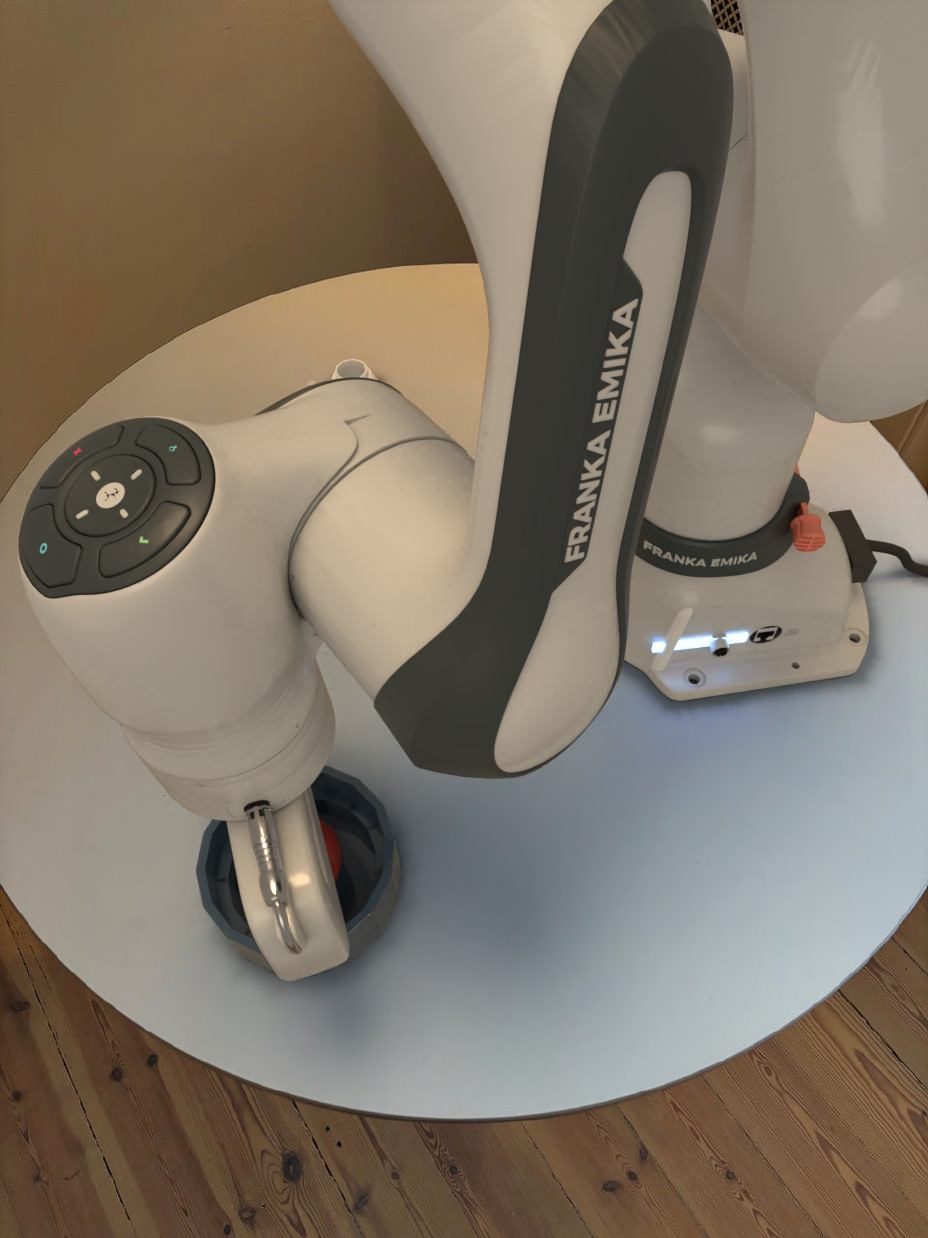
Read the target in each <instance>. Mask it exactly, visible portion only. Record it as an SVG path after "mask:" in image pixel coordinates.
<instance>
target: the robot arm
mask: <svg viewBox="0 0 928 1238" xmlns="http://www.w3.org/2000/svg"><path fill="white" fill-rule="evenodd" d="M326 1H327V2H328V4H329V6H330V8H331V9H332V11H333V13H334V14H335V16H336V17H337V18H338V20H339V21H340V22H341V24H342V25H343V27H344V29H345V30H346V31H347V33H348V34H349V36H350V37H351V39H353V40H354V43H356V45H357V46H358V47H359V49H360V50H361V51H362V52H363V55H364V56H365V57H366V58H367V60H368V61H369V63H370V64H371V65H372V67H373V68H374V69H375V71H376V72H377V73H378V75H379V76H380V77H381V79H382V81H383V82H384V83H385V85H386V86H387V88H388V90H389V91H390V92H391V93H392V95H393V96H394V98H395V100H396V101H397V102H398V105H399V106H400V108H401V109H402V110H403V112H404V114H405V115H406V116H407V118H408V120H409V121H410V123H411V124H412V126H413V129H414V130H415V131H416V133H417V135H418V137H419V139H421V141H422V143H423V145H424V146H425V148H426V150H427V151H428V153H429V154H430V157H431V160H432V161H433V163H434V164H435V166H436V168H437V170H438V172H439V173H440V175H441V177H442V179H443V181H444V183H445V185H446V187H447V189H448V191H449V193H450V195H451V197H452V198H453V201H454V203H455V205H456V208H457V210H458V212H459V214H460V217H461V219H462V221H463V224H464V225H465V229H466V231H467V234H468V237H469V239H470V242H471V244H472V247H473V251H474V253H475V257H476V260H477V264H478V267H479V271H480V276H481V279H482V285H483V291H484V295H485V302H486V308H487V309H486V310H487V323H488V325H487V326H488V344H487V345H488V346H487V356H486V363H485V364H486V365H485V372H484V373H485V374H484V383H483V389H482V399H481V408H480V414H479V415H480V416H479V425H478V432H477V441H476V449H475V456H474V457H475V458H473V457H472V456H471V455H470V454H469V452H468V451H467V449H465V448H464V447H463V446H462V445H461V444H460V443H459V442H457V440H456V439H454V438H453V437H452V436H451V435H450V434H448V433H447V432H446V430H444V429H443V428H442V427H441V426H440V425H439V424H437V423H436V422H435V421H434V420H433V419H432V418H431V417H429V415H427V414H426V413H425V412H424V411H423V410H422V409H421V408H419V407H418V406H417V405H416V404H415V403H414V402H412V401H411V400H410V399H409V398H407V397H406V396H405V395H404V394H403V393H402V392H400V391H399V390H398V389H397V388H395V387H394V386H392V385H390V384H388V383H387V382H384V381H381V380H379V379H378V380H375V379H370V378H362V377H350V378H339V379H333V380H331V379H328V380H324V381H320V382H318V383H315V384H314V385H311V386H308V385H307V386H306V387H304V388H301V389H299V390H297V391H295V392H292V393H291V394H288V395H286V396H285V397H283V398H281V399H279V400H278V401H276V402H274V403H272V404H270V405H268V406H267V407H265V408H264V409H262V410H261V411H259V412H257V413H256V414H254V415H252V416H248V417H244V418H239V419H234V420H230V421H221V422H200V421H194V420H189V419H185V418H180V417H175V416H169V415H141V416H135V417H134V416H133V417H129V418H125V419H121V420H119V421H115V422H112V423H108V424H106V425H103V426H102V427H99V428H98V429H96V430H93V431H92V432H90V433H88V434H86V435H84V436H83V437H81V438H79V439H77V440H76V441H75V442H73V443H72V444H70V445H69V446H68V447H67V448H65V449H64V450H63V451H62V452H61V453H59V455H58V456H56V457H55V459H54V460H52V462H51V463H50V464H49V465H48V466H47V468H46V469H45V470H44V471H43V472H42V474H41V475H40V477H39V478H38V480H37V481H36V483H35V484H34V486H33V488H32V489H31V491H30V493H29V496H28V497H27V500H26V502H25V506H24V509H23V512H22V514H21V515H22V516H21V520H20V523H19V529H18V534H17V560H18V567H19V572H20V577H21V582H22V585H23V589H24V591H25V594H26V597H27V601H28V603H29V605H30V607H31V609H32V612H33V614H34V616H35V618H36V619H37V622H38V623H39V625H40V628H41V629H42V631H43V634H44V635H45V636H46V638H47V640H48V641H49V643H50V645H51V646H52V648H53V650H54V651H55V652H56V654H57V655H58V657H59V658H60V660H61V661H62V663H63V664H64V666H65V667H66V668H67V670H68V671H69V672H70V674H71V675H72V677H73V678H74V679H75V681H76V682H77V683H78V685H79V686H80V687H81V688H82V689H83V691H84V692H85V694H86V695H87V696H88V697H89V698H90V700H91V701H92V702H93V704H95V706H97V707H98V708H99V709H100V711H102V713H104V714H105V715H107V716H108V717H109V718H110V719H112V720H113V721H115V722H117V723H118V724H119V725H118V726H119V728H120V730H121V733H122V735H123V737H124V739H125V740H126V742H127V744H128V746H129V747H130V748H131V749H132V751H133V752H134V753H135V755H136V756H137V757H138V759H139V760H140V761H141V762H142V764H143V765H144V766H145V768H147V769H148V771H149V772H150V773H151V774H152V776H153V777H154V778H155V779H156V780H157V781H158V783H159V784H160V785H161V787H162V788H163V789H164V791H166V793H167V794H168V795H169V797H171V799H173V800H174V801H175V802H176V803H177V804H178V805H180V806H181V808H184V809H185V810H187V811H189V812H190V813H192V814H194V815H197V816H199V817H200V816H201V817H203V818H206V819H210V820H212V819H215V820H223V821H226V822H227V827H228V832H229V837H230V843H231V848H232V853H233V859H234V864H235V869H236V874H237V880H238V885H239V890H240V895H241V900H242V904H243V908H244V911H245V915H246V918H247V921H248V924H249V927H250V930H251V932H252V935H253V937H254V939H255V941H256V943H257V945H258V947H259V949H260V950H261V952H262V953H263V955H264V956H265V958H266V960H267V961H268V963H269V964H270V966H271V967H272V968H273V970H274V971H275V973H276V974H275V975H277V977H279V979H281V980H282V981H285V982H293V981H296V980H297V981H298V980H301V979H304V978H307V977H311V976H310V975H314V974H317V973H319V972H322V971H325V970H328V969H330V968H333V967H335V966H337V965H340V964H342V963H343V962H345V961H346V960H347V958H348V956H349V939H348V935H347V930H346V926H345V922H344V918H343V914H342V910H341V906H340V902H339V898H338V894H337V890H336V886H335V882H334V878H333V874H332V870H331V866H330V862H329V858H328V853H327V849H326V845H325V841H324V837H323V833H322V829H321V825H320V821H319V817H318V813H317V809H316V805H315V801H314V797H313V793H312V789H311V784H312V783H313V782H314V781H315V779H316V778H317V777H318V775H319V774H320V772H321V771H322V769H323V768H324V766H325V765H327V762H328V760H329V758H330V755H331V752H332V750H333V745H334V742H335V738H336V727H337V724H336V714H335V709H334V705H333V702H332V698H331V696H330V693H329V690H328V688H327V685H326V682H325V679H324V677H323V674H322V672H321V669H320V666H319V662H318V660H317V653H318V650H319V649H320V647H321V646H322V645H323V644H325V645H326V647H328V649H329V650H330V651H331V652H332V653H333V655H334V656H335V657H336V658H337V660H338V661H339V662H340V663H341V664H342V665H343V667H344V668H345V669H346V671H347V672H348V673H349V674H350V675H351V676H352V678H353V679H354V680H355V681H356V682H357V684H358V685H359V686H360V687H361V689H362V690H363V691H364V692H365V694H366V695H367V696H368V697H369V698H370V699H371V701H372V702H373V708H374V710H375V711H376V713H377V714H378V717H380V719H381V720H382V722H383V723H384V725H385V726H386V727H387V729H388V730H389V732H390V733H391V735H392V736H393V737H394V739H395V740H396V743H398V745H399V747H400V748H401V749H402V751H403V752H404V754H405V755H406V757H407V758H408V759H409V762H411V763H412V765H413V766H414V767H416V768H418V769H421V770H423V771H424V770H425V771H429V772H433V773H437V774H442V775H449V776H453V777H454V776H455V777H461V778H468V779H469V778H470V779H485V780H487V779H488V780H500V779H516V778H521V777H523V776H527V775H529V774H532V773H534V772H536V771H538V770H539V769H542V768H543V767H545V766H547V765H548V764H550V763H551V762H553V761H554V760H555V759H556V758H558V757H559V756H560V755H562V754H563V753H564V752H565V751H567V750H568V749H569V748H570V747H571V746H572V745H573V744H574V743H576V741H577V740H578V739H579V738H580V737H581V736H582V735H583V734H584V733H585V732H586V730H587V729H588V728H589V727H590V726H591V725H592V723H593V722H594V721H595V719H596V718H597V717H598V716H599V714H600V713H601V711H602V710H603V709H604V707H605V705H606V704H607V703H608V701H609V700H610V697H611V695H612V693H613V691H614V690H615V687H616V686H617V684H618V681H619V679H620V675H621V673H622V669H623V666H624V662H626V663H628V664H630V665H632V666H633V667H636V668H637V669H639V670H640V671H642V672H643V673H644V674H645V675H646V676H647V677H648V678H649V679H650V681H651V682H652V683H653V684H654V686H656V688H657V689H659V691H660V692H661V693H662V694H663V695H665V696H666V697H668V698H669V699H671V700H673V701H677V702H678V701H679V702H682V701H689V700H690V701H691V700H697V699H703V698H709V697H716V696H723V695H729V694H730V695H731V694H736V693H743V692H750V691H755V690H762V689H769V688H775V687H783V686H791V685H795V684H802V683H810V682H815V681H822V680H828V679H835V678H842V677H847V676H850V675H854V674H855V673H857V671H858V670H859V668H860V666H861V665H862V662H863V660H864V658H865V655H866V653H867V650H868V645H869V638H870V620H869V619H870V618H869V611H868V605H867V601H866V597H865V593H864V589H863V587H862V583H866V582H867V581H868V579H869V578H870V575H871V574H872V572H873V571H874V569H875V568H876V566H877V564H878V560H877V558H876V556H875V554H874V553H881V554H886V555H890V556H893V557H895V558H897V559H898V560H899V562H900V563H901V566H902V568H904V569H905V570H907V571H908V572H910V573H912V574H915V575H920V576H924V577H927V578H928V565H926V564H923V563H919V562H916V561H915V560H913V558H912V555H911V554H910V552H909V551H908V550H907V549H906V548H904V547H903V546H900V545H897V544H895V543H891V542H887V541H882V540H874V539H868V538H866V537H865V534H864V532H863V530H862V528H861V526H860V524H859V523H858V521H857V519H856V517H855V514H854V513H853V511H852V509H842V510H834V511H829V512H828V513H827V512H826V510H824V509H823V508H822V507H820V506H819V505H817V504H815V503H813V502H811V501H810V500H811V494H810V490H809V485H808V483H807V481H806V480H805V479H804V478H803V477H802V476H801V473H800V468H799V461H800V458H801V455H802V454H803V451H804V448H805V446H806V444H807V441H808V438H809V436H810V433H811V430H812V428H813V425H814V421H815V415H816V413H818V414H819V415H820V416H822V417H824V418H825V419H827V420H829V421H832V422H835V423H841V424H857V423H866V422H873V421H877V420H878V421H879V420H881V419H885V418H890V417H894V416H896V415H899V414H902V413H904V412H906V411H908V410H909V411H910V410H911V409H913V408H915V407H918V406H920V405H921V404H923V403H924V402H927V401H928V0H736V3H737V7H738V11H739V16H740V22H741V28H742V34H743V35H742V34H738V33H735V32H731V31H727V30H726V29H725V30H724V29H721V28H718V26H717V25H716V22H715V20H714V17H713V13H712V1H711V0H326ZM851 639H852V640H854V641H852V640H851ZM690 680H694V681H696V682H697V683H692V682H691V681H690Z"/></svg>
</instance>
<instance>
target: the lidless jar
mask: <svg viewBox="0 0 928 1238" xmlns="http://www.w3.org/2000/svg"><path fill="white" fill-rule="evenodd" d="M350 377H362V378H370V379H375V380H379V379H378V377H377V376H376V374H374V372H373V371H372V370H371V369H370V367H369V366H368V365H367V364H366V363H365V362H364V361H362V360H360V359H357V358H349V359H345V360H342V361H340V362H339V363H338V364H337V365H336V367H335V368H334V372H333V373H332V375H331V377H330V380H333V379H339V378H350Z"/></svg>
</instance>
